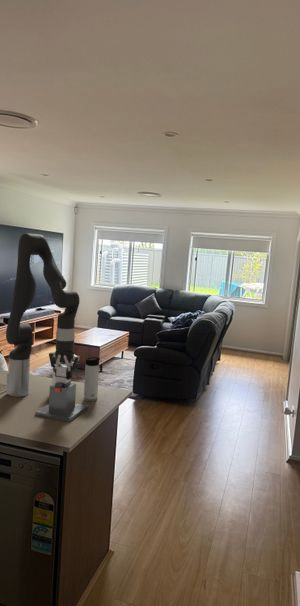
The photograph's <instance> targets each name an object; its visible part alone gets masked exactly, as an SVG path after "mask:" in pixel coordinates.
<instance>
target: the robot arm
mask: <svg viewBox="0 0 300 606" xmlns="http://www.w3.org/2000/svg"><path fill="white" fill-rule="evenodd" d="M17 245H18V247H17V264H16V265H17V267H16V274H15V280H14V287H13V293H12V301H11V302H12V303H11V307H10V314H9V317H8V322H7V326H6V330H5V339H6V342H7V343H8V344H9V345H11V346H12V345H17V346H16V348H14V349H12V350H10V351H9V352H8V353H9V355H8V356H9V357H8V373H6V386H5V387H6V389H5V390H6V391H5V392H6V395H8V396H10V397H14V398H17V397H18V398H19V397H25V396H28V395H29V393H30V365H31V364H30V363H31V362H30V361H31V353H32V348H33V338H34V337H33V336H34V335H33V328H32V326H31V325H30V323H24V322H23V323H21V322H22V318H23V316H24V314H25V313H26V311H27V310H28V309H29V307H30V306H31V305H32V303H33V301H34V299H35V297H36V296H35V295H36V289H37V282H36V279H35V277H34V274H33V272H32V270H31V256H39V258H40V259H41V260H42V263H43V266H42V267H43V269H42V270H43V271H42V274H43V277H44V279H45V282H46V283H47V285H48V287H49V288H50V291H51V296H52V299H53V303H54V305H55V306H57V308H60V309H64V311H63V312H62V313H59V314H58V315H57V322H56V323H57V324H56V333H55V336H56V337H55V352H54V351H52V352H49V353H48V358H49V361H50V362H49V363H50V367H51V368H53V367H54V368H55V376H56V371H57V366H59V365H61V363H62V362H64V363H66V366H67V368H68V371H67V380H70V379H71V380H72V378H73V371H75V370H77V369H78V366H79V364H80V360H81V356H80V355H76V354H75V352H74V351H75V337H76V336H75V319H76V315H77V312H78V309H79V306H80V301H81V300H80V295H79V294H78V292H77V291H76V290H64V289H66V287H67V280H66V279H65V278H64V276H63V274H62V272H61V271H60V269H59V268H58V265H57V263H56V261H55V258H54V256H53V253H52V250H51V247H50V245H49V243H48V241H47V239H46V237H45V236H44V235H42V234H38V233H29V232H28V233H27V232H24V233H22V234H20V237H19V241H18V244H17ZM55 356H56V357H57V361H56V359H55Z"/></svg>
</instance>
